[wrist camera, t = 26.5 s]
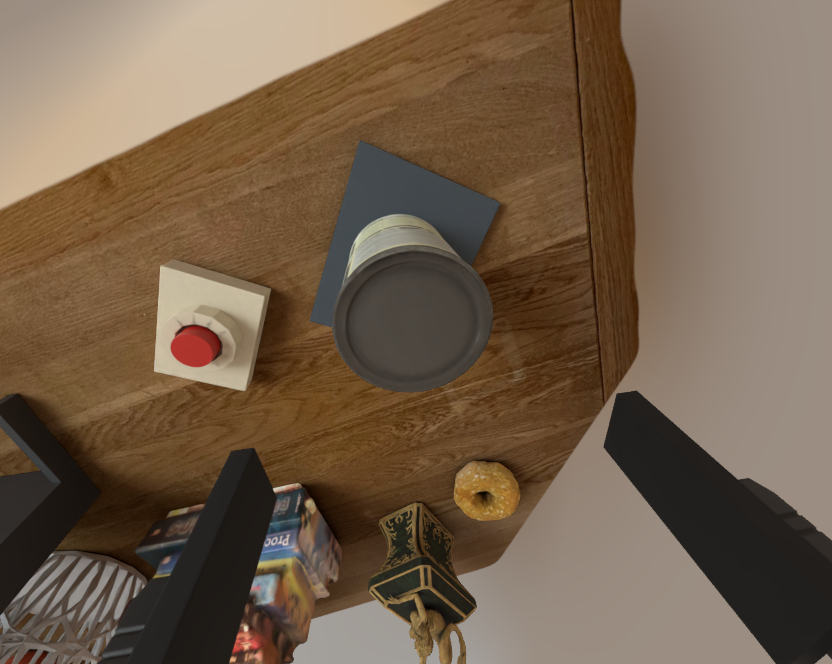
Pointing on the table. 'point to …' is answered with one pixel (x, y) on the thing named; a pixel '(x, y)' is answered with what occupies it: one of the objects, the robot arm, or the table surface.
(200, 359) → the power button
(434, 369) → the coffee can
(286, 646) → the stack of books
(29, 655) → the tomato
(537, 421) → the table surface
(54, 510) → the footed upright panel
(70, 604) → the vase
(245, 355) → the switch block
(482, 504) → the bagel
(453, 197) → the mat
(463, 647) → the decorative box
